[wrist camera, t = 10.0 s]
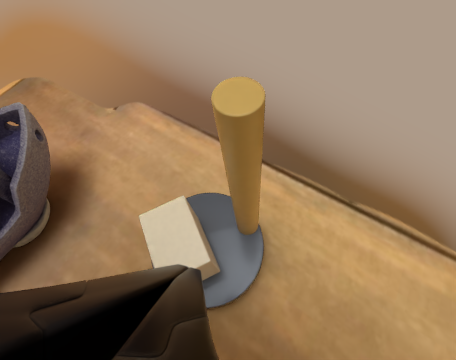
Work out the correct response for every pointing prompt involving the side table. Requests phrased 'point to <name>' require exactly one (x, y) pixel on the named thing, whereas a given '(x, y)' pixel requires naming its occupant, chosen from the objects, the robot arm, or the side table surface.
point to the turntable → (219, 204)
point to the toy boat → (22, 178)
